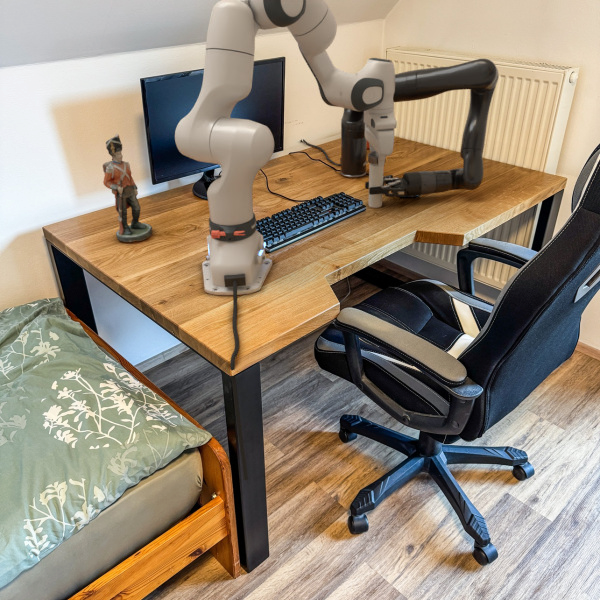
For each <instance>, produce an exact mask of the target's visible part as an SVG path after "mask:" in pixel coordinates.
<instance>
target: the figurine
mask: <svg viewBox="0 0 600 600" xmlns="http://www.w3.org/2000/svg"><path fill="white" fill-rule="evenodd" d="M105 148H106V150H107V153H108V155H110V156H111V160H110V161H107V162H104V163H103V164H102V170H103V173H104V177H103V185H104V186H105V188H107V189H109V190H111V194H112V195H114V198H115V201H114V204H115V206H114V209H115V211H116V212H117V213H118V216H117V221H118V222H119V228H118V230H117V231H116V233H115V234H116V239H117V240H118V241H119V242H124V243H132V242H133V243H134V242H135V241H136V242H140V241H145V240H146V239H148V238H150V237H151V236H152V235H153V227H152V225H150V224H148V223H146V222H140V215H141V208H142V207H141V204H140V202H139V199H138V198H137V197H138V194H139V191H138V188H139V187H138V186H137V184H136V183H135V180H134V178H133V177H132V170H131V165H130V162H129V161H124V160H123V157H124V156H123V154H122V151H123V143H122V141H121V138H120V135H119V133H116V134H115V135H114V136H113V137H111V138H110V139H108V140H106V142H105ZM129 208H130V209H131V217H132V220H131V222H130V224H128V210H129Z"/></svg>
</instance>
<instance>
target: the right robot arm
mask: <svg viewBox="0 0 600 600" xmlns="http://www.w3.org/2000/svg"><path fill="white" fill-rule="evenodd" d="M499 75H500V74H499V69H498V67H497V65H496V64H495V63H494V61H492V60H491V59H489V58H478V59H474V60H469V61H466V62H461V63H459V64H454V65H449V66H438V67H437V66H436V67H429V68H420V69H414V70H407V71H403V72H399V73H395V92H394V95H393V102H394V103H402V102H412V101H421V100H426V99H430V98H433V97H435V96H438V95H441V94H444V93H448V92H451V91H461V90H469V91H470V92H469V98H470V99H469V108H468V113H467V116H466V121H465V124H464V128H463V133H462V137H461V145H460V153H459V154H460V158H461V159H462V160H463V165H462V166H463V167H460V168H453V169H448V170H447V169H442V170H441V169H440V170H421V171H420V170H419V171H411V172H410V171H409V172H404V173H403V174H402V176H401V177H394V174H388V175H383V186H382V188H381V186H379V187H370V188H369V181H365V183H364V188H365V189H366V190H368V195H369V194H370V195H373V194H382V195H383V196H384V197H389V198H390V197H393V198H395V197H397V198H398V197H399V198H404V197H417V196H425V195H432V194H440V193H446V192H448V191H457V190H458V191H461V190H463V191H465V190H466V191H474V190H477V189H478V188H479V187H480V186H481V185H482V182H483V179H484V158H483V153H484V149H485V142H486V134H487V128H488V127H487V126H488V118H489V113H490V108H491V103H492V99H493V96H494V92H495V89H496V86H497V83H498V81H499ZM302 139H303V141H302ZM302 139H301V140H300V141H299V142H300V143H302V142H303V143H304V144H305V145H307V146H309V147H311V148H314V149H317V150H319V151H321V152H322V154H324V156H325V159H326V160H327V162H329V163H330V164H332V165H334V166H337V167H340V176H342V177H345V178H350V179H356V178H362V177H365V176H366V175H367V164H368V160H367V155H368V154H367V153H368V152H367V150H368V149H367V140H366V139H365V123H364V111H354V110H350V109H346V108H343V113H342V117H341V120H340V158H339V159H340V160H339V163H337V162H334V161H333V160H332V159H331V158H329V157H328V153H327V152H326V150H324V148H322V147H320V146H318V145H315V144H312V143H309V142H308V141H306V140H305V139H304V138H302Z"/></svg>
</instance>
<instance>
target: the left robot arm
mask: <svg viewBox="0 0 600 600" xmlns="http://www.w3.org/2000/svg"><path fill="white" fill-rule="evenodd" d="M278 28H287V30H288V31H289V33H290V34H291V36H292V37H293V38H294V40H295V41H296V43H297V46H298V49H299V52H300V54H301V56H302V58H303V59H304V61H305V63H306V65H307V66H308V68H309V70H310V72H311V74H312V76H313V77H314V79H315V81H316V84H317V86H318V90H319V94H320V97H321V100H322V101H323V102H324V104H326V105H327V106H329V107H334V108H335V107H336V108H342V109H344V108H346V109H350V110H354V111H364V123H365V139H366V140H367V141H368V142H369V146H370V149H369V151H370V152H369V153H372V152H377V153H378V156H379V158H378V163H377V164H378V166H379V167H383V166H384V167H385V163H386V161H385V159H386V160H387V157H390V156H392V155H393V152H394V147H395V146H394V145H395V129H397V127H398V126H397V125H398V123H397V119H396V116H395V102H393V95H394V92H395V74H396V69H395V65H394V62H393V61H392V60H390V59H387V58H378V57H371V58H367V61H366V64H365V65H364V66H363V67H362V68H361V69H360V70H359V71H357V72H355V73H354V72H353V73H352V72H347V71H344V70H341V69H339V68H337V67H336V66H335V65H334V64H333V61H332V60H331V57H330V56H329V54H328V52H327V49H328V48H329V47H331V45H332V44H333V42H334V40H335V38H336V36H337V31H338V24H337V21H336V18H335V16H334V14H333V11H332V10H331V8H330V7H329V5H328V4H327V2H326V0H219V1H217V2H216V3H214V5H213V7H212V9H211V14H210V17H209V22H208V27H207V33H206V40H205V53H204V54H205V55H204V56H205V57H204V65H203V66H204V67H203V76H202V84H201V88H200V91H199V95H198V97H197V99H196V102H195V103H194V105H193V107H192V108H191V110H190V111H189V112H188V113H187V114H186V115H185V116H184V117H183V118H181V119H180V120H179V122H177V123H178V124H177V125H176V128H175V131H174V141H175V145H176V149H177V150H178V152H179V153H180V154H181V155H183V156H185V157H187V158H189V159H192V160H194V161H197V162H200V163H208V164H214V165H219V166H220V168H221V173H220V175H221V176H220V177H218V178H217V179H215V180H213V181H212V182H211V183H210V185H209V187H208V188H207V191H206V195H207V203H208V212H209V218H208V229H209V234H208V235H207V236H206V243H207V249H208V255H206V256H205V260H204V261H203V262H202V263H201V268H202V278H203V290H204V292H205V293H207V294H210V295H214V296H232V300H233V301H232V303H233V305H232V306H233V307H232V324H231V325H232V334H233V339H234V349H233V351H232V354H231V356H230V361H229V363H230V365H229V366H230V367H229V370H230V371H235V368H236V359H237V356H238V353H239V350H240V338H239V332H238V324H237V323H238V322H237V320H238V296H239V295H240V296H241V295H249V294H253V293H256V292H259V291H260V290H261V288H262V287H263V286H264V283H265V280H266V278H267V276H268V274H269V273H270V271H271V268H272V266H273V265H274V264H273V260H272V259H271V258H268V257H266V249H265V248H266V246H267V243H266V241H264V235H263V234H262V233H260V232H259V231H258V230H257V218H256V214H255V212H254V200H253V187H254V186H253V185H254V181H255V179H256V176H257V174H258V173H259V171H260V170H261V169H262V168H264V167H265V166H266V165H267V164H268V163H269V162H270V160H271V159H272V157H273V155H274V152H275V151H274V150H275V140H274V135H273V133H272V131H271V129H270V128H269V127H268V126H267V125H264V124H262V123H259V122H257V121H254V120H251V119H247V118H236V117H231V115H232V112H233V110H234V108H235V107H236V105H237V104H238V103H239V102H240V101H242V100H244V99H246V98H247V97H248V96H249V95H250V93H251V91H252V89H253V87H252V86H253V75H254V66H255V65H254V64H255V53H256V52H255V49H256V36H257V33H258V32H259V30H263V31H264V30H265V31H266V30H272V29H278ZM384 162H385V163H384ZM230 380H231V388H232V395H233V404H234V414H235V421H236V430H237V437H238V444H239V450H240V458H241V465H242V473H243V480H244V481H248V480H249V475H248V468H247V466H248V465H247V459H246V458H247V457H246V451H245V445H244V437H243V436H244V435H243V427H242V420H241V413H240V411H241V410H240V403H239V394H238V385H237V384H238V383H237V377H236V375H230Z"/></svg>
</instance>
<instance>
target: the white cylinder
mask: <svg viewBox="0 0 600 600" xmlns="http://www.w3.org/2000/svg"><path fill="white" fill-rule="evenodd" d="M368 166H369V173H368V182H369V188H370V187H379V186H381V188H382V186H383V176H384V173H385V172H384V169H385V165H384V166H383V167H379V166H378V164H371V163H369V165H368ZM383 196H384V195H382V194H373V195H370V194H369V193H368V200H367V201H368V207H370V208H374V209H377V208H381V207H382V206H383Z"/></svg>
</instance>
